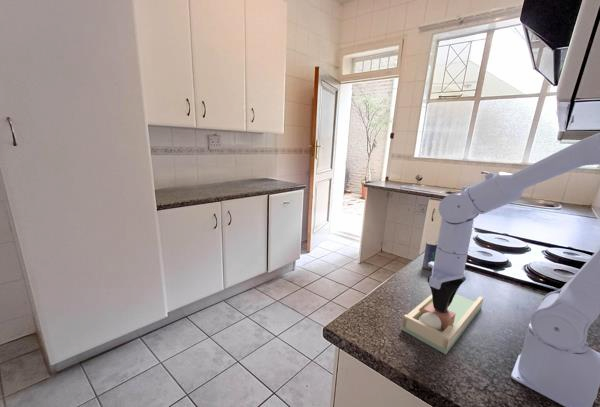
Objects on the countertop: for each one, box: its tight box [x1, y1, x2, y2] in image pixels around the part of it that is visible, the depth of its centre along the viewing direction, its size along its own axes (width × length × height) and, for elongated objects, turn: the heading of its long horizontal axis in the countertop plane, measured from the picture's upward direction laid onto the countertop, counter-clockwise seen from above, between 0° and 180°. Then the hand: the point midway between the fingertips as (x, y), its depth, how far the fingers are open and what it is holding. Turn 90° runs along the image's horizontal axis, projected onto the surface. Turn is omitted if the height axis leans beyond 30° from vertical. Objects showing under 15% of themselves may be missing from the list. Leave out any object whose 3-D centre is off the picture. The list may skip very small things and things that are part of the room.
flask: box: [421, 241, 438, 271], centre depth 86 cm, size 9×3×11 cm, turn 61°
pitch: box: [401, 293, 484, 355], centre depth 62 cm, size 9×24×4 cm, turn 132°
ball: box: [420, 312, 441, 331], centre depth 56 cm, size 4×4×4 cm
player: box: [423, 302, 456, 330], centre depth 58 cm, size 5×4×7 cm
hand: (441, 306), depth 59 cm, fingers closed on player, 2 cm apart
